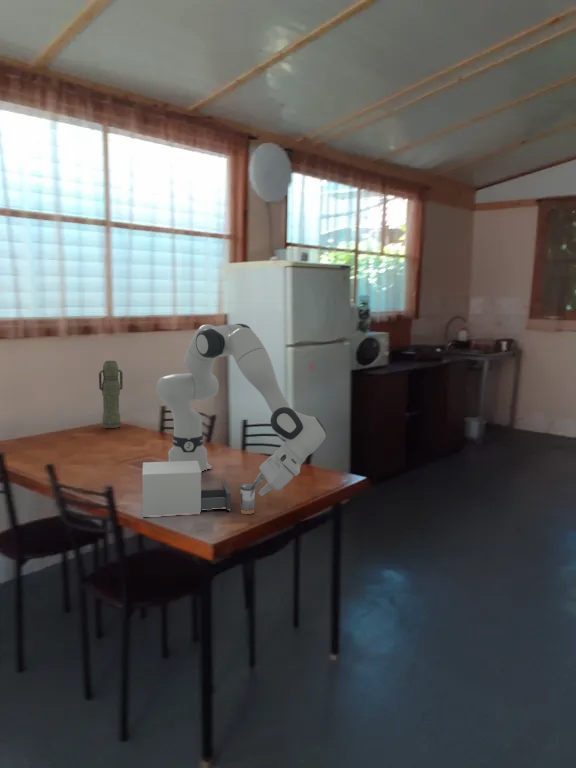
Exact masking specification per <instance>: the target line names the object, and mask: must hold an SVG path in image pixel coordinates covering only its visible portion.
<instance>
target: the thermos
mask: <svg viewBox="0 0 576 768" xmlns="http://www.w3.org/2000/svg"><path fill="white" fill-rule="evenodd" d="M123 374H124V373H123V371H122V370H121V369H119V366H118V362H117V361H116V360H106V361H104V363H103V366H102V370H100V371H99V373H98V389H99V390H100V391H101V394H102V396H103V398H102V400H103V401H102V402H103V403H102V405H103V406H102V407H103V408H102V409H103V413H102V428H103V429H104V428H117V429H119V428H118V427H120V428H121V424H120V423H121V414H120V395H121V394H120V393H121V390H123V388H124V387H123V386H124V383H123V379H124V378H123V377H124V375H123ZM102 377H103V381H102Z"/></svg>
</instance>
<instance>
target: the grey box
mask: <svg viewBox="0 0 576 768" xmlns="http://www.w3.org/2000/svg"><path fill="white" fill-rule="evenodd" d="M141 480H142V483H141V484H142V517H143V516H149V515H165V514H178V513H193V512H201V513H202V511H201V490H202V472H201V470H200V467H199V463H198V461H174V462H168V461H150V462H149V461H148V462H142V479H141Z"/></svg>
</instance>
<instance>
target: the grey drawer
mask: <svg viewBox="0 0 576 768" xmlns="http://www.w3.org/2000/svg"><path fill="white" fill-rule="evenodd" d="M221 483H222V484H221V487H222V488H216V489H214V488H213V489H201V510H202V509H212V508H222V507H226V509H230V510H231V491H230V488H229V486H228V484H227V481H225V480H224V481H221Z"/></svg>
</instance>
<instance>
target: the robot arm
mask: <svg viewBox="0 0 576 768" xmlns="http://www.w3.org/2000/svg"><path fill="white" fill-rule="evenodd" d="M229 356H232V357H233V359H234V362H235V363H236V364H237V367H238V369H239V370H240V372H241V373H242V375H243V376H244V378H245V379H246V380H247V381H248V383H250V384H251V385H252V386H253V387H254V388H255V390H257V391H258V392H259V393H260V395H261V396H262V397H263V398H264V401H265V402H266V404H267V405H268V407H269V410H270V412H271V413H272V414H271V417H270V426H271V429H272V431H273V432H274V433H275V434H276V435H277V436H278V438H279V439H280V440H281V441H282V442H283V443H282V445H280V447H279V448H278V449H276V450H275V452H274V454H272V455H270V456H269V457H268V458H266V459H265V461H263V462H262V463H261V464H260V465H259V471H260V472H259V473H258V474H257V477H256V478H255V480H253V482H252V484H254V485H255V488H258V487H259V486H260V485H261V483H262V481H264V480H266V481H267V482H266V483H265V485H264V486H262V487H261V488H259V490H258V491H257V493H258V494H259V495H260V497H263V496H265V494H267V493H268V492H271V490H274V492H278V491H280V490H281V489H282V488H284V487H285V486H286V485H287V484H289V482H290V481H291V480H292V479H293V478H294V476H295V477H297V476H298V475H299V474H300V473H301V466H302V465H303V463H305V460H306V459H307V458H308V457H309V456H310V455H311V454H314V452H315V451H316V450H317V449H318V448H319V447H320V446H321V445H322V444H323V442H324V441H325V439H326V437H327V431H326V429H325V427H324V425H323V424H322V423H321V421H320V420H319V419H318V418H317V417H316V416H311V415H306V414H303V413H302V412H301V413H300V412H298V411H296V410H295V409H292V408H291V407H290V405H289V403H288V402H287V400H286V398H285V396H284V394H283V393H282V391H281V388H280V386H279V383H278V380H277V376H276V373H275V370H274V369H275V368H274V366H273V363H272V360H271V357H270V356H269V353H268V352H267V350H266V347H265V346H264V344H263V342H261V340H260V338H259V337H258V336H257V334H256V333H255V332H254V330H252V328H251V327H250V326H249V325H247V324H244V323H235V324H234V323H233V324H232V323H231V324H221V325H217V326H215V325H213V324H208V323H207V324H202V325H200V326H199V328H198V329H197V330H196V331H195V333H194V334H193V337H192V338H191V340H190V343H189V346H188V348H187V350H186V353H185V355H184V357H183V366H184V368H185V370H186V371H187V373H173V374H168V375H166V376H165V375H164V376H162V377H160V378H158V380H157V382H156V386H155V389H156V390H155V391H156V395H157V396H158V398H159V400H160V401H162V402H163V403H165V404H166V405H167V407H168V408H169V410H170V412H171V416H172V419H173V435H172V447H171V448H170V449H169V451H168V452H167V457H168V460H167V462H174V461H198V463H199V467H200V470H201V473H203V472H202V471H204V470H206V469H210V468H212V465H210V463H208V450H207V448H206V447H205V446H204V445H203V444H204V435H203V417H202V415H201V413H199V412H198V411H196V410H195V409H192V408H191V404H190V402H194V401H206V400H208V399H211V398H214V397H215V396H216V395H217V394H218V392H219V389H220V384H219V383H220V382H219V380H218V378H217V377H216V375H214V374H213V373H212V371H213V367H214V364H215V361H216V359H217V358H222V357H223V358H224V357H229ZM210 470H211V469H210ZM206 471H207V470H206ZM204 472H205V471H204Z"/></svg>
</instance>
